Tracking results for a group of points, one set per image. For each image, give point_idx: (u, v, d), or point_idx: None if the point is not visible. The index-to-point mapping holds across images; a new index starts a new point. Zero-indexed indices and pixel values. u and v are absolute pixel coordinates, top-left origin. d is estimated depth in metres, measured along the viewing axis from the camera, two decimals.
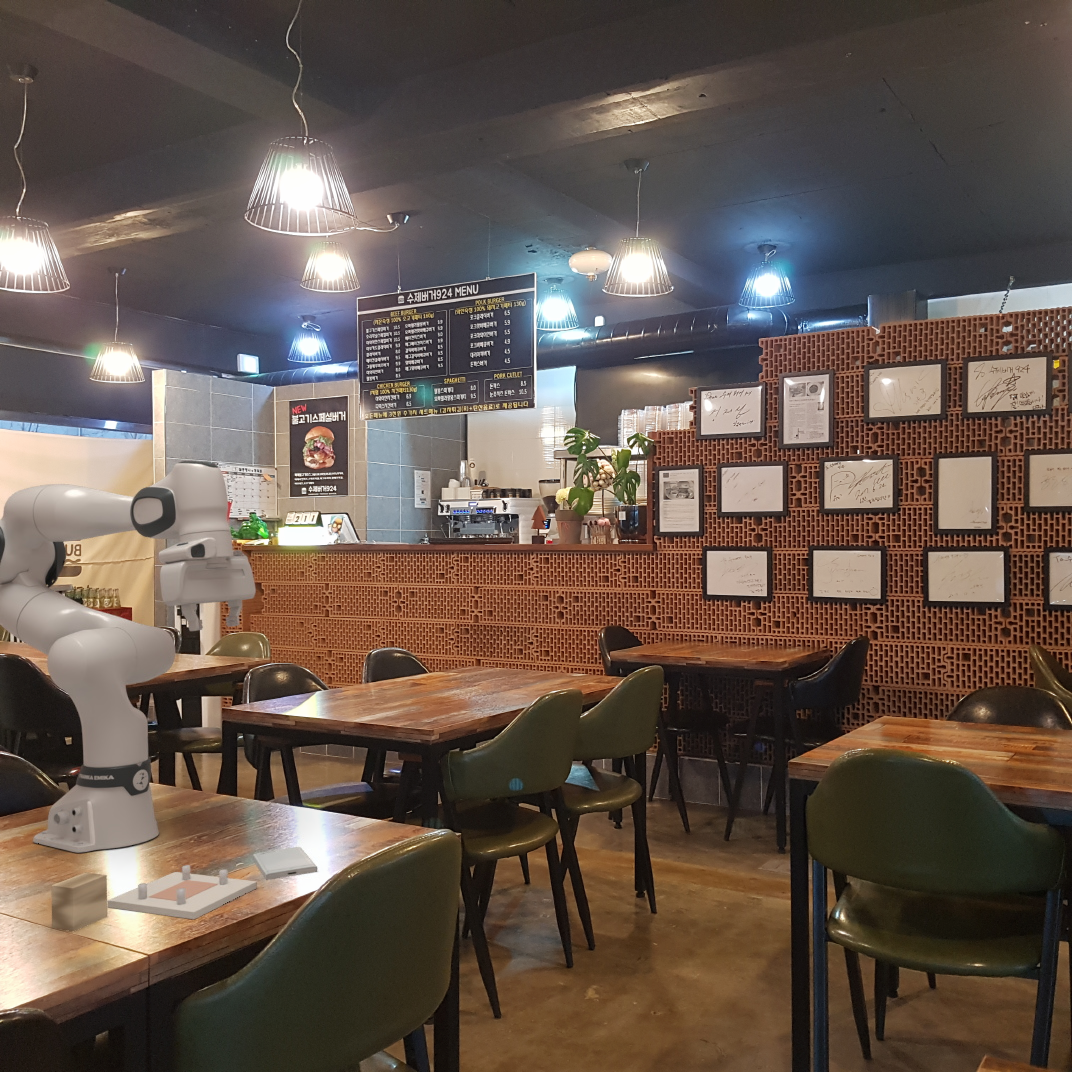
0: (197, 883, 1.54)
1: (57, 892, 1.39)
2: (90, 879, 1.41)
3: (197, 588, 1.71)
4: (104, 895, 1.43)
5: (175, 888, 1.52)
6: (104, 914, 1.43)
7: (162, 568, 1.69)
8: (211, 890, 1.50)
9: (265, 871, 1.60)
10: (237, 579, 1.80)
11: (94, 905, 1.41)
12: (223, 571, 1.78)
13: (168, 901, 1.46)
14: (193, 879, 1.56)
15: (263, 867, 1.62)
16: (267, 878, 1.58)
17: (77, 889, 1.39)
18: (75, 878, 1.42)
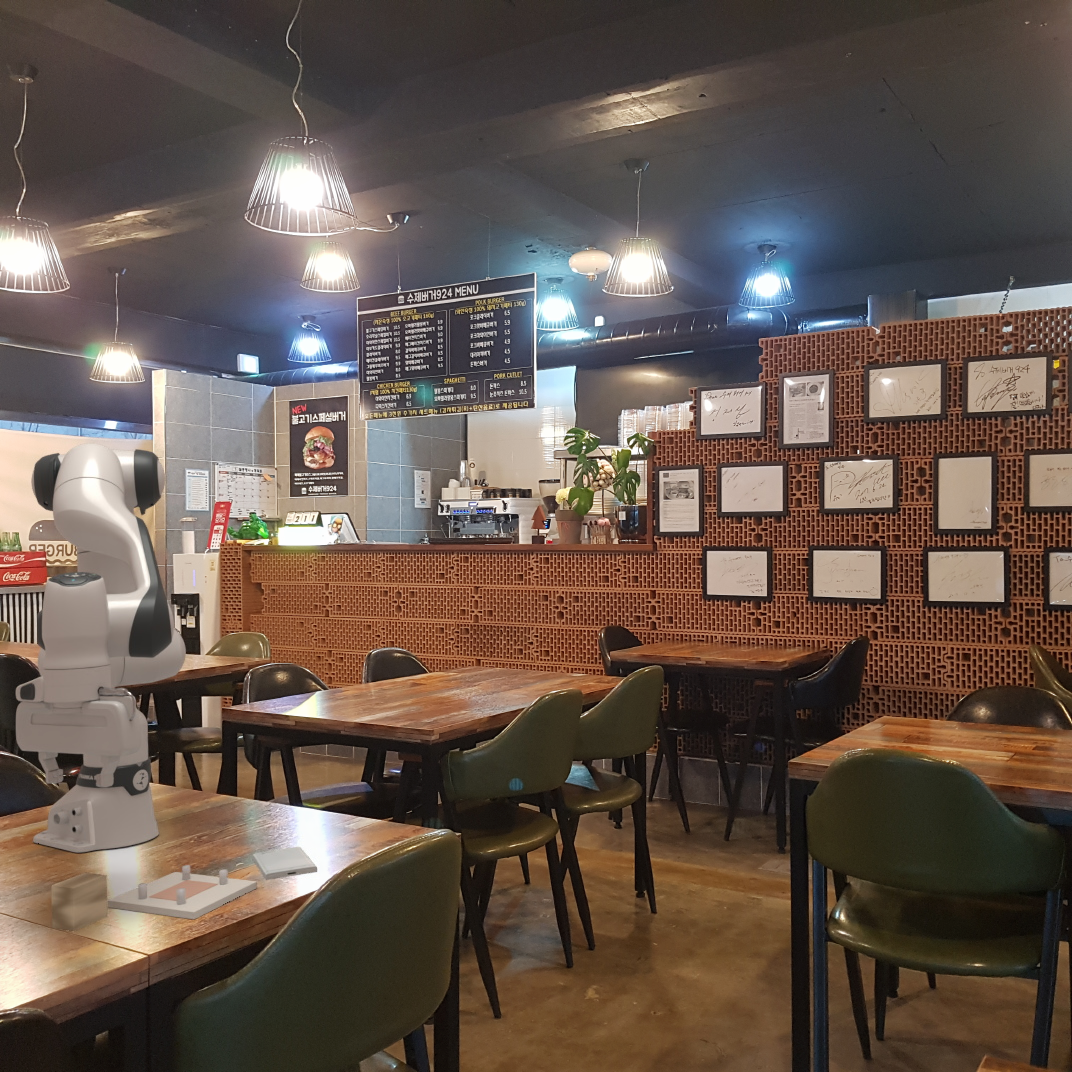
0: (197, 883, 1.54)
1: (57, 892, 1.39)
2: (90, 879, 1.41)
3: (40, 735, 1.42)
4: (104, 896, 1.43)
5: (175, 888, 1.52)
6: (104, 914, 1.43)
7: None
8: (211, 890, 1.50)
9: (265, 871, 1.60)
10: (95, 728, 1.38)
11: (94, 905, 1.41)
12: (79, 716, 1.40)
13: (168, 901, 1.46)
14: (193, 879, 1.56)
15: (263, 867, 1.62)
16: (267, 878, 1.58)
17: (77, 889, 1.39)
18: (75, 878, 1.42)
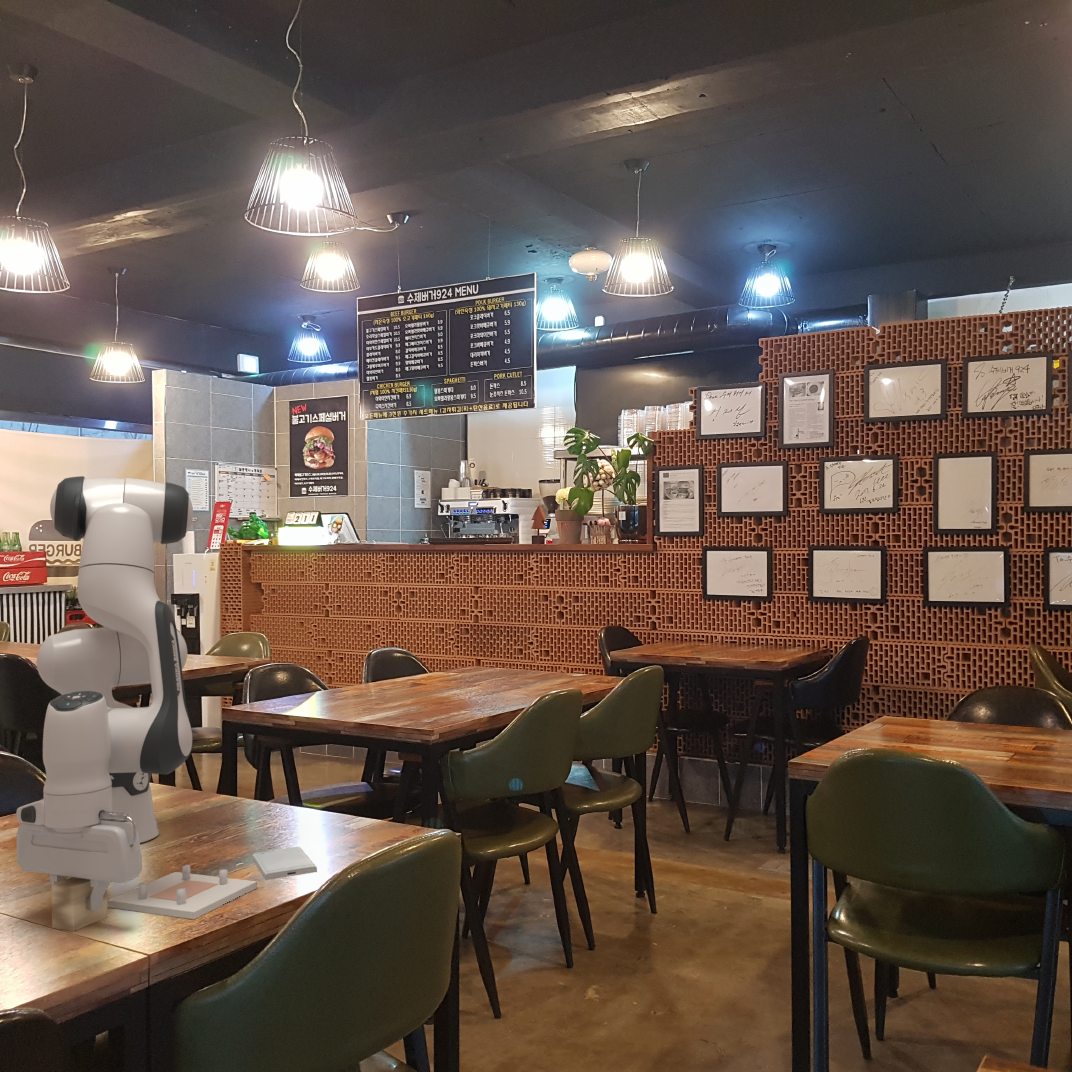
0: (197, 883, 1.54)
1: (57, 892, 1.39)
2: None
3: (40, 857, 1.42)
4: (104, 895, 1.43)
5: (175, 888, 1.52)
6: (104, 913, 1.43)
7: None
8: (211, 890, 1.50)
9: (264, 871, 1.60)
10: (96, 854, 1.38)
11: None
12: (80, 840, 1.39)
13: (168, 901, 1.46)
14: (193, 879, 1.56)
15: (262, 867, 1.62)
16: (266, 878, 1.58)
17: (77, 889, 1.39)
18: None
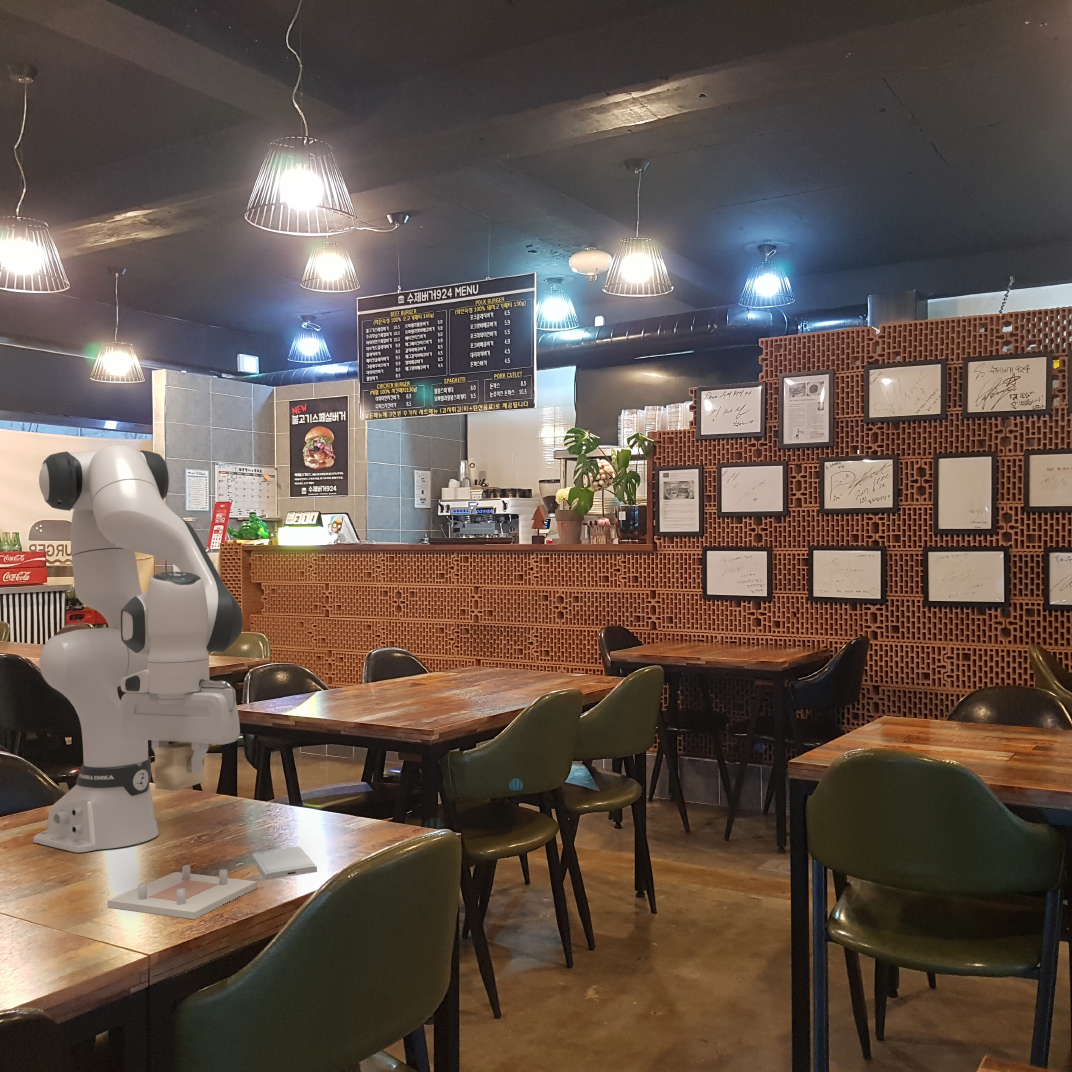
0: (197, 883, 1.54)
1: (160, 754, 1.49)
2: (189, 744, 1.51)
3: (143, 724, 1.51)
4: (202, 761, 1.53)
5: (175, 888, 1.52)
6: (202, 778, 1.52)
7: None
8: (211, 890, 1.50)
9: (264, 871, 1.60)
10: (197, 718, 1.48)
11: None
12: (181, 707, 1.49)
13: (168, 901, 1.46)
14: (193, 879, 1.56)
15: (262, 867, 1.62)
16: (266, 878, 1.58)
17: (179, 751, 1.48)
18: (175, 744, 1.52)
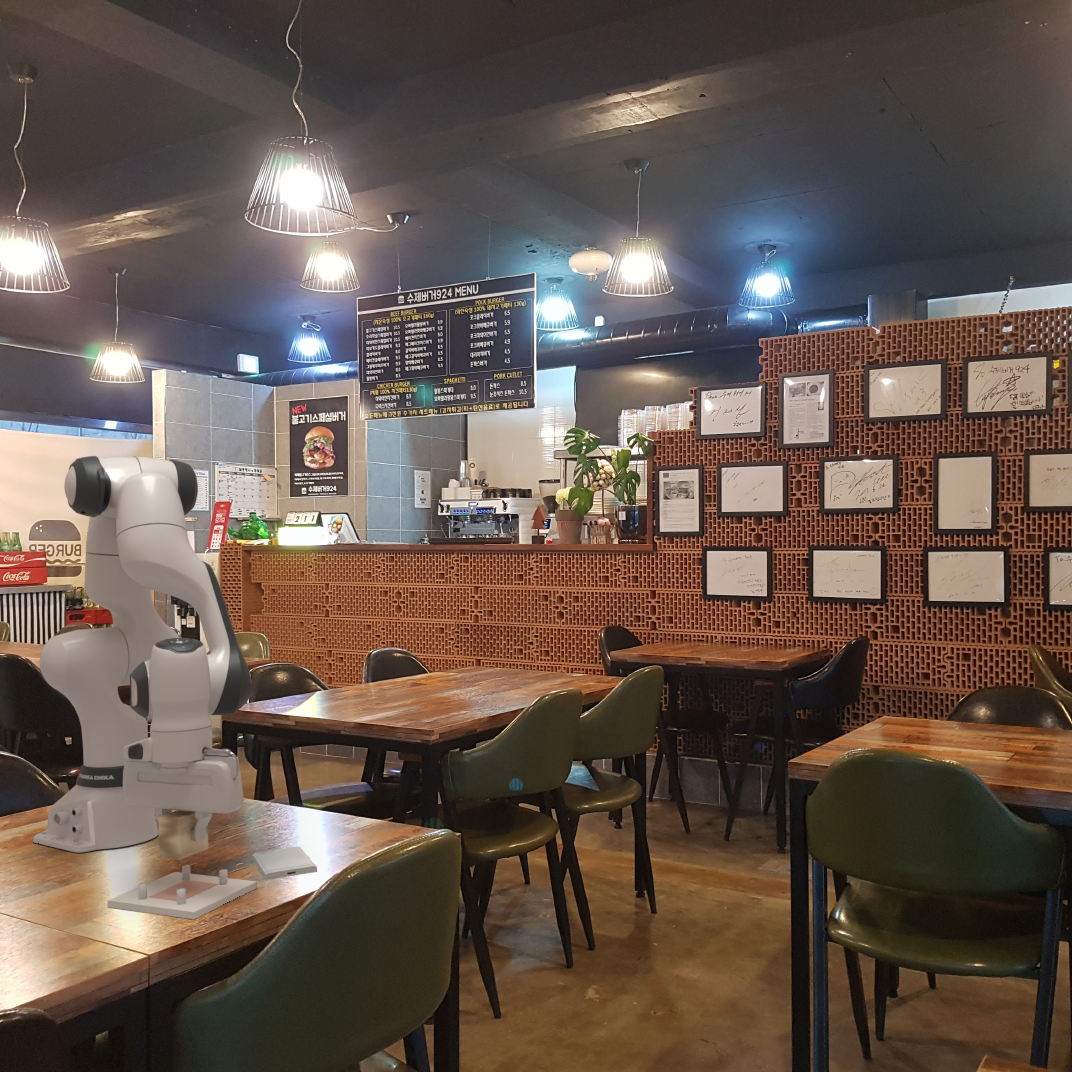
0: (197, 883, 1.54)
1: (164, 823, 1.48)
2: (193, 812, 1.51)
3: (146, 792, 1.51)
4: (206, 828, 1.52)
5: (175, 888, 1.52)
6: (205, 845, 1.52)
7: None
8: (211, 890, 1.50)
9: (265, 871, 1.60)
10: (201, 787, 1.47)
11: None
12: (185, 775, 1.49)
13: (168, 901, 1.46)
14: (193, 879, 1.56)
15: (262, 867, 1.62)
16: (267, 878, 1.58)
17: (183, 820, 1.48)
18: (179, 811, 1.52)
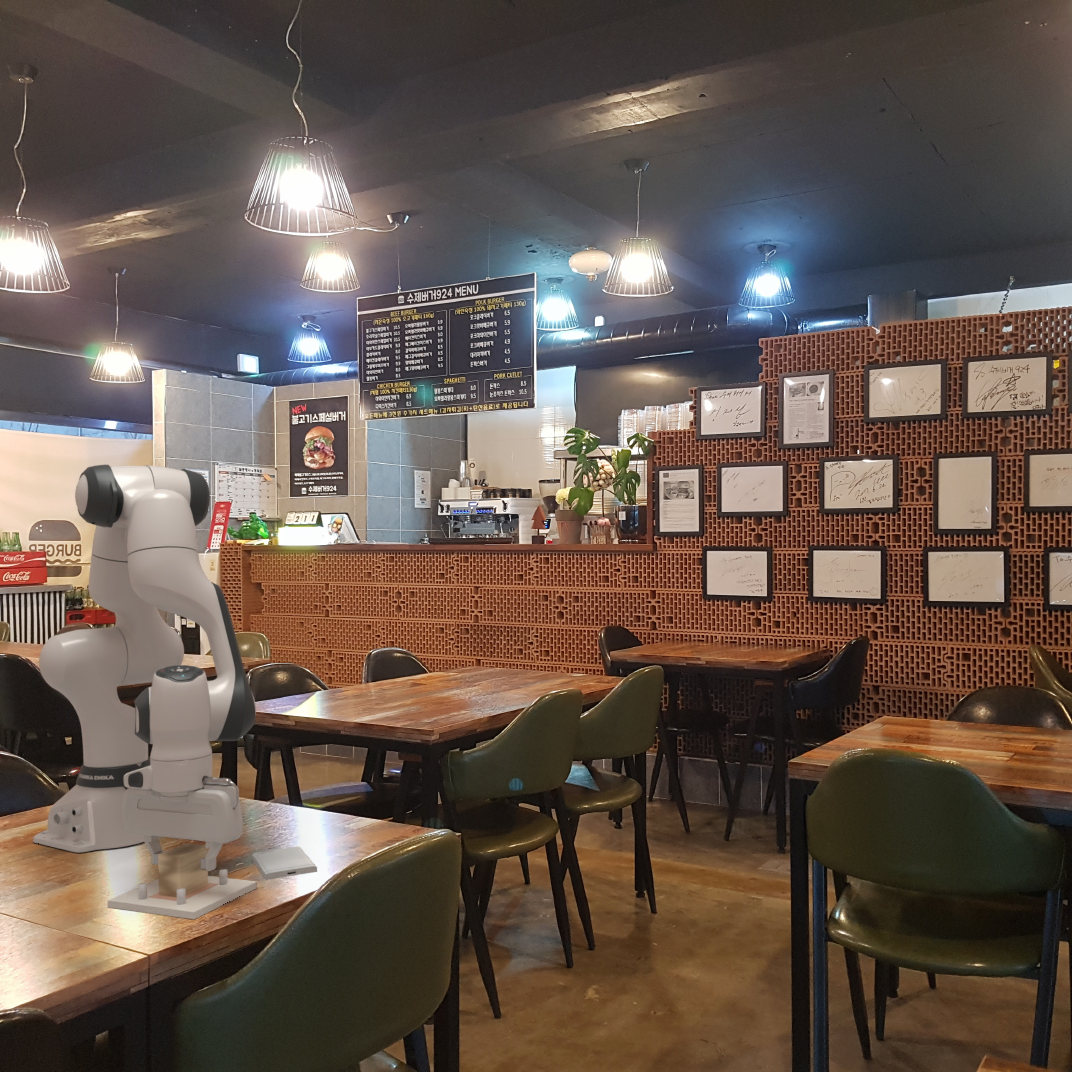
0: None
1: (164, 861, 1.48)
2: (193, 849, 1.51)
3: (146, 820, 1.51)
4: None
5: None
6: (205, 882, 1.52)
7: None
8: (211, 890, 1.50)
9: (265, 871, 1.60)
10: (200, 816, 1.47)
11: (197, 874, 1.51)
12: (185, 804, 1.49)
13: (168, 901, 1.46)
14: None
15: (263, 867, 1.62)
16: (267, 878, 1.58)
17: (183, 858, 1.48)
18: (178, 848, 1.52)
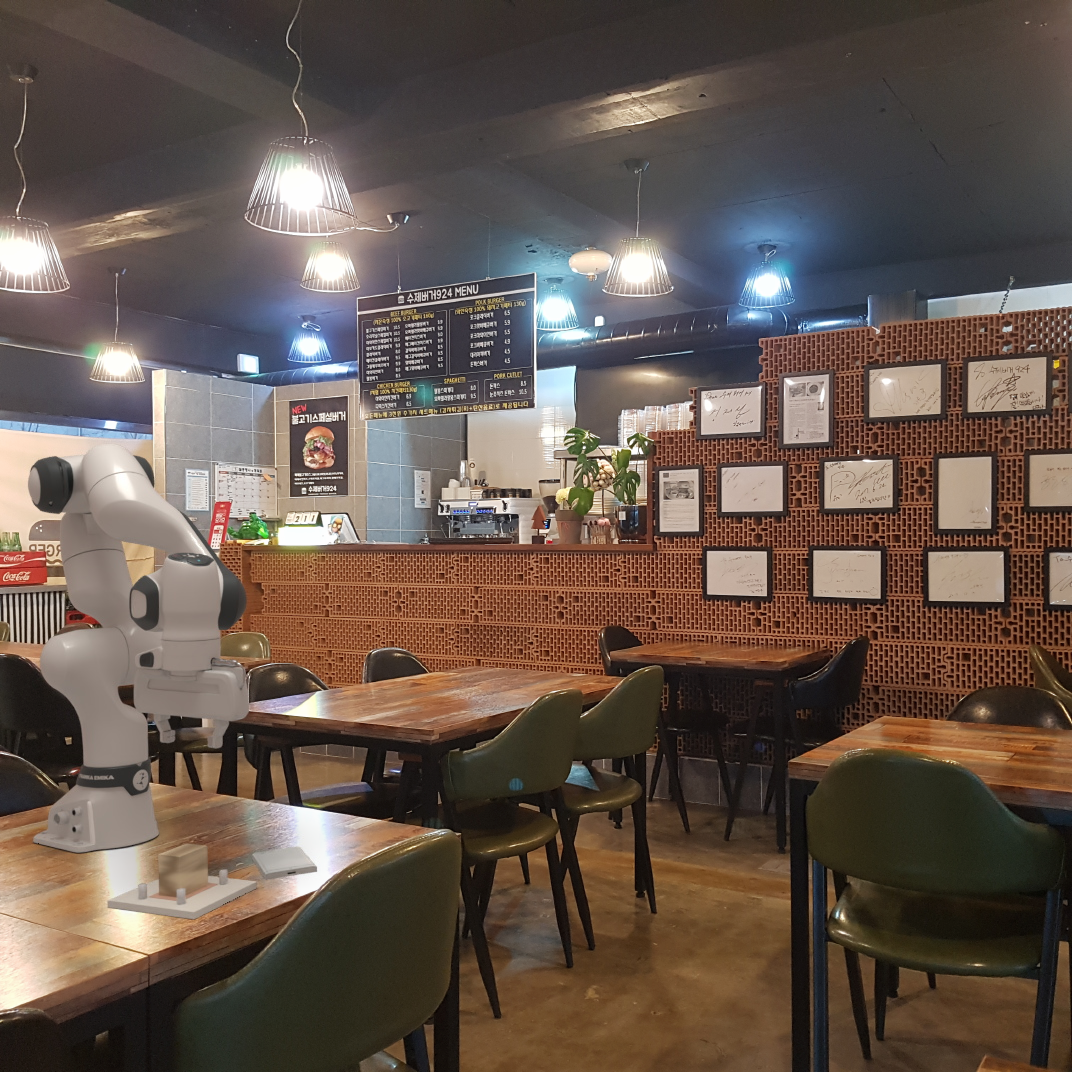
0: None
1: (164, 861, 1.48)
2: (193, 849, 1.51)
3: (156, 699, 1.57)
4: (205, 865, 1.52)
5: None
6: (205, 882, 1.52)
7: None
8: (211, 890, 1.50)
9: (265, 871, 1.60)
10: (208, 695, 1.53)
11: (197, 874, 1.51)
12: (193, 683, 1.55)
13: (168, 901, 1.46)
14: None
15: (262, 867, 1.62)
16: (267, 878, 1.58)
17: (183, 858, 1.48)
18: (178, 848, 1.52)
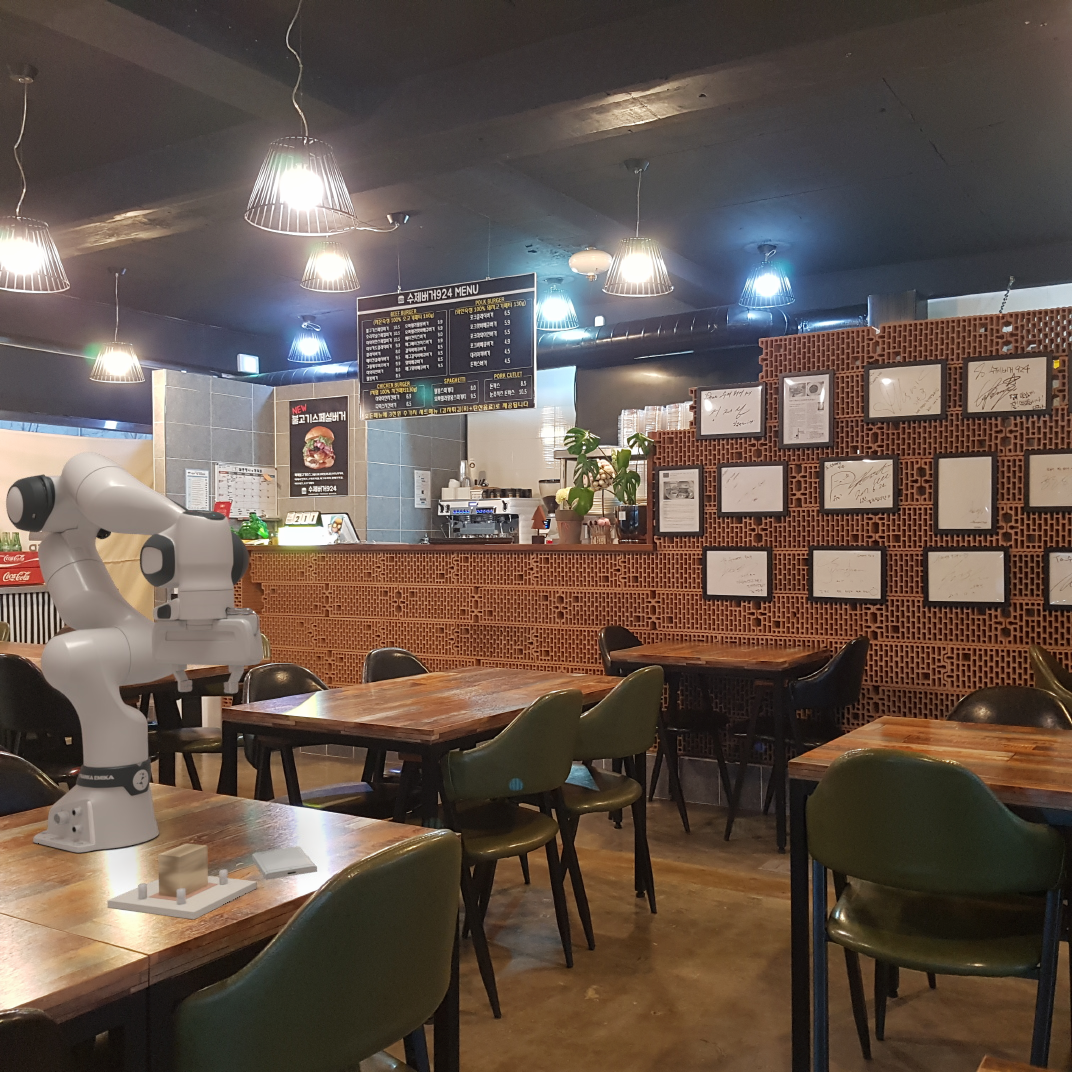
0: None
1: (164, 861, 1.48)
2: (193, 849, 1.51)
3: (173, 649, 1.65)
4: (205, 865, 1.52)
5: None
6: (205, 882, 1.52)
7: None
8: (211, 890, 1.50)
9: (265, 871, 1.60)
10: (224, 642, 1.61)
11: (197, 874, 1.51)
12: (209, 632, 1.62)
13: (168, 901, 1.46)
14: None
15: (262, 867, 1.62)
16: (267, 878, 1.58)
17: (183, 858, 1.48)
18: (178, 848, 1.52)
